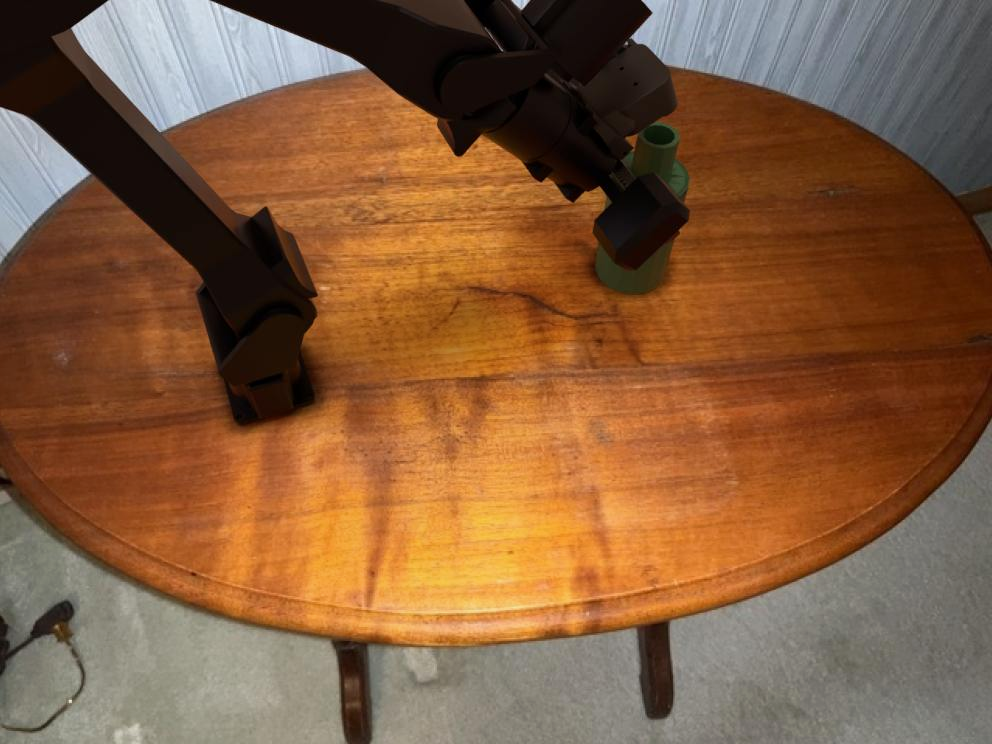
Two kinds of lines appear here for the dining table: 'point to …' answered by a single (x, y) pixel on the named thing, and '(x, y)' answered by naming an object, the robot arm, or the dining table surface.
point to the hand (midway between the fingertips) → (646, 201)
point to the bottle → (649, 156)
